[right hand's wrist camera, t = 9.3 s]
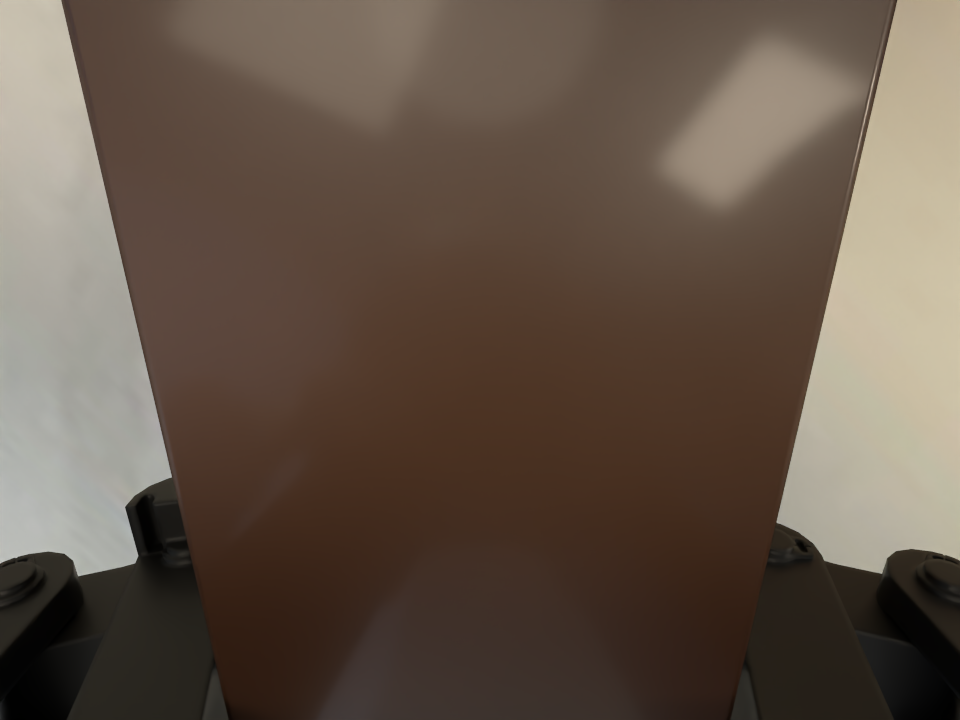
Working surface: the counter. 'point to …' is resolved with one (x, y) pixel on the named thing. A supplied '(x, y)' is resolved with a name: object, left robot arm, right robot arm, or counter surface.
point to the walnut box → (479, 330)
